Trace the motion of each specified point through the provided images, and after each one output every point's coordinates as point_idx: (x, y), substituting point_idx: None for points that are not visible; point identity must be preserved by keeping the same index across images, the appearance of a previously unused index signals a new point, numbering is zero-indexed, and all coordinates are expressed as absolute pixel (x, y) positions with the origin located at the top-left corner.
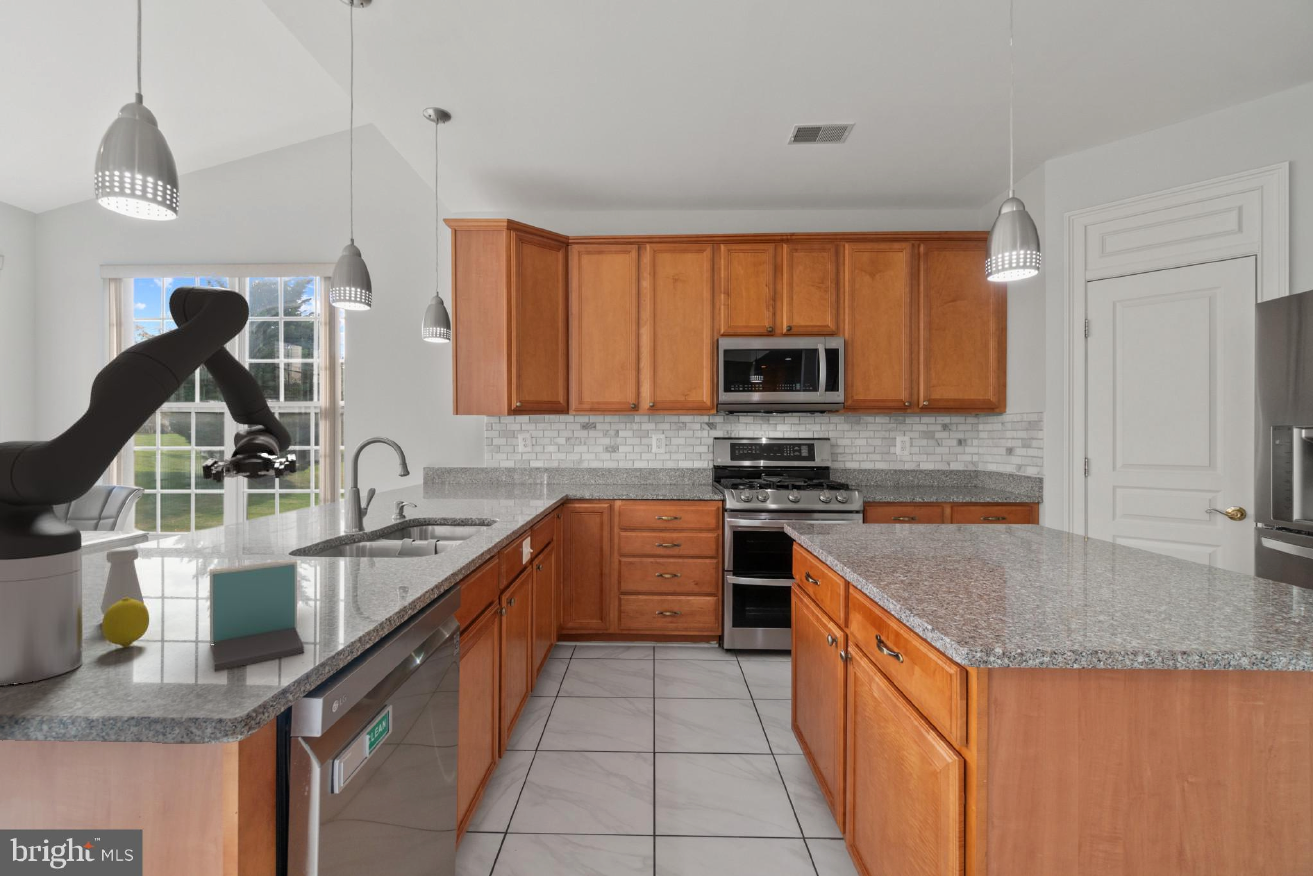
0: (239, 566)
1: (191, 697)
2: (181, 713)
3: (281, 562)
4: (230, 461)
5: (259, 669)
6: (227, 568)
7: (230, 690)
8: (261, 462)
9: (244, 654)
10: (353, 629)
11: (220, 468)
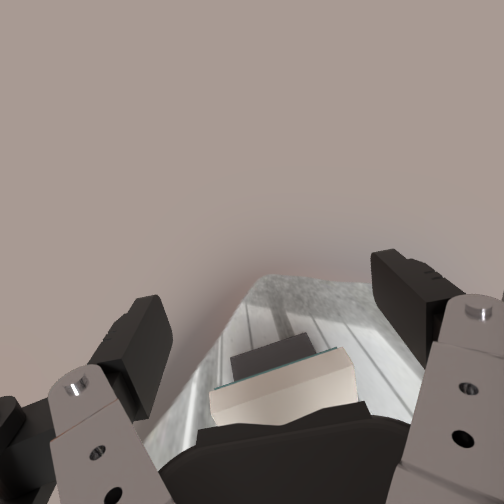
0: (305, 377)
1: (304, 296)
2: (300, 279)
3: (235, 392)
4: (434, 349)
5: (267, 333)
6: (322, 366)
7: (279, 301)
8: (200, 446)
9: (285, 349)
10: (173, 431)
11: (400, 270)
